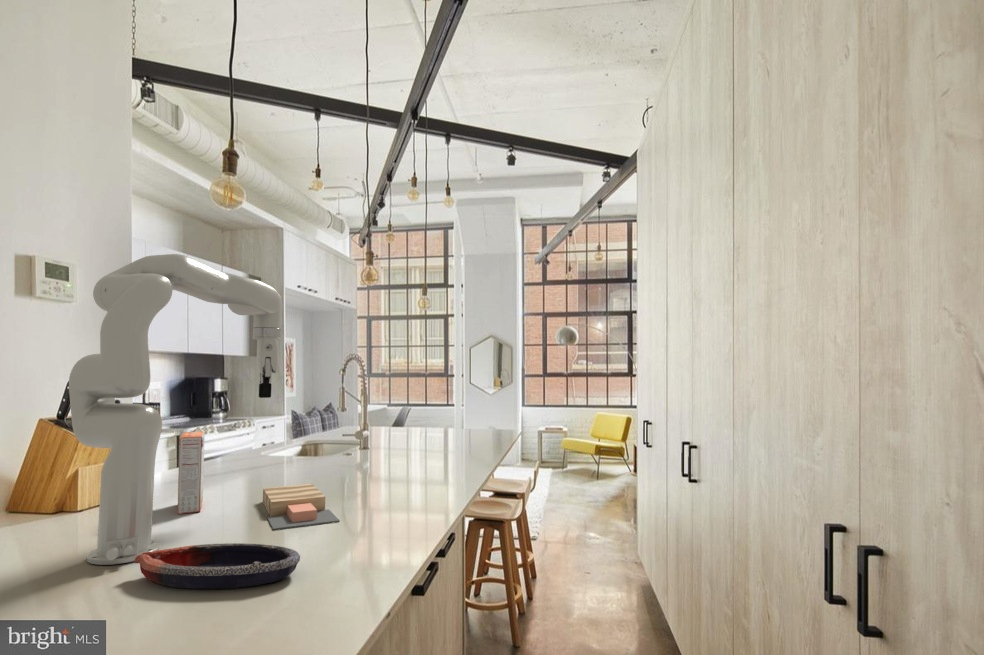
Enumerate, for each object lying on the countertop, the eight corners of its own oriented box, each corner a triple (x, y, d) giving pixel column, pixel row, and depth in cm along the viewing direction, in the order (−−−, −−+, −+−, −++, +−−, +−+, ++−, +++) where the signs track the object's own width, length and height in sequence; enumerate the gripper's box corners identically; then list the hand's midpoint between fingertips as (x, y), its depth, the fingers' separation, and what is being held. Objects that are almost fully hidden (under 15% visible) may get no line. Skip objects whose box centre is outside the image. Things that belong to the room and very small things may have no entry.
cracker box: (179, 503, 162) (183, 431, 164) (203, 501, 164) (206, 430, 166) (175, 515, 149) (178, 436, 151) (200, 512, 152) (203, 435, 153)
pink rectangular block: (316, 519, 143) (316, 509, 144) (292, 522, 140) (292, 512, 141) (310, 511, 151) (310, 502, 151) (286, 514, 148) (287, 505, 149)
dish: (278, 597, 95) (279, 567, 95) (109, 592, 97) (111, 563, 98) (314, 566, 110) (314, 540, 111) (167, 562, 113) (168, 537, 113)
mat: (339, 521, 142) (339, 520, 142) (273, 530, 135) (273, 528, 135) (328, 510, 154) (328, 509, 154) (267, 517, 146) (267, 516, 146)
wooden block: (325, 511, 153) (325, 496, 154) (271, 517, 147) (271, 502, 147) (311, 496, 171) (311, 483, 171) (262, 501, 164) (263, 488, 164)
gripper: (284, 333, 158) (282, 398, 156) (277, 336, 171) (275, 396, 169) (255, 332, 154) (253, 399, 153) (250, 335, 167) (248, 396, 166)
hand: (264, 397), depth 161 cm, fingers closed
